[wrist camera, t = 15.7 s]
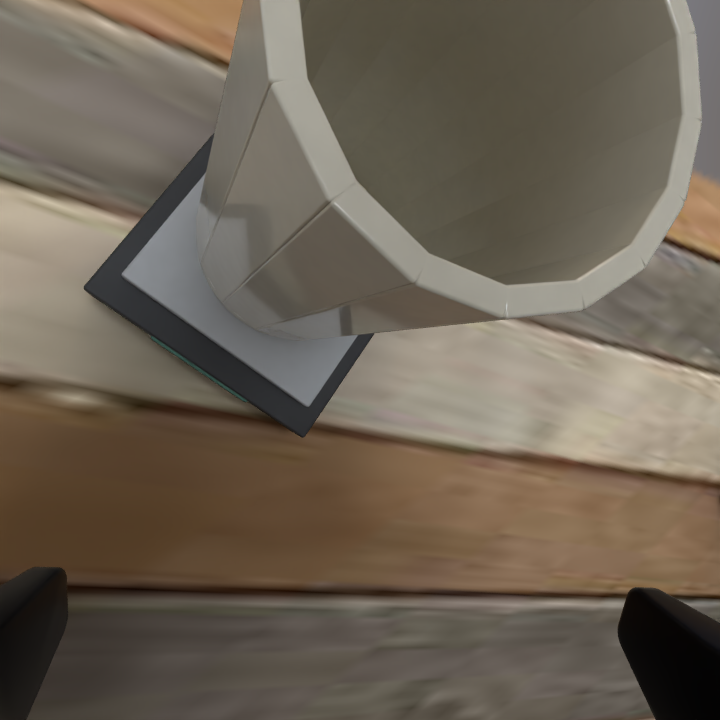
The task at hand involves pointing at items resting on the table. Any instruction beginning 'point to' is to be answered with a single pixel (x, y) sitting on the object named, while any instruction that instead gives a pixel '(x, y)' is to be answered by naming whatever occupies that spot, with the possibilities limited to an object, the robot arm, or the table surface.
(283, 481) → the table surface
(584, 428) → the table surface
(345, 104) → the tumbler
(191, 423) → the table surface
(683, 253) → the table surface
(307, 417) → the scale
